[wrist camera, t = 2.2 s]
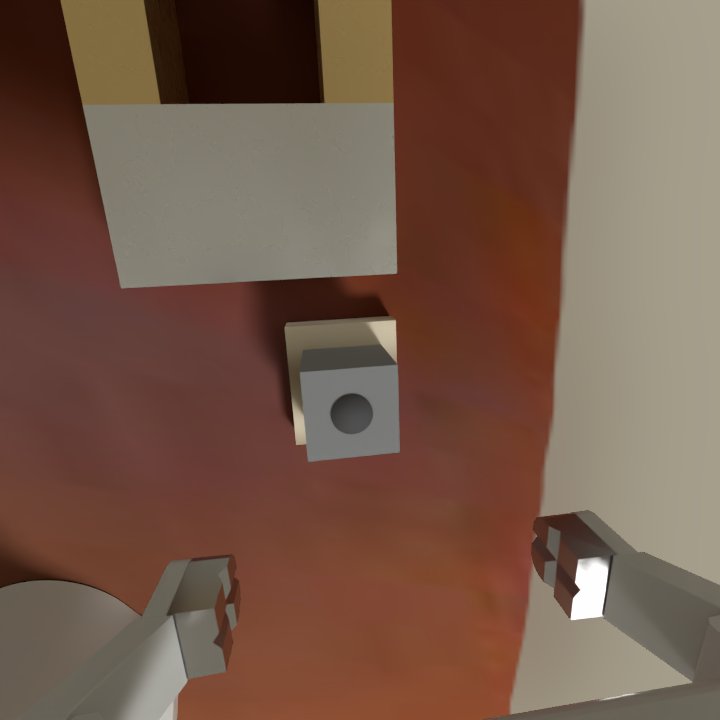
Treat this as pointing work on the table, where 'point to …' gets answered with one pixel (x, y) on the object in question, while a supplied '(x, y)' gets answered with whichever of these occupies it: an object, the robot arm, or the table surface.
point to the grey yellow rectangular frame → (238, 153)
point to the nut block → (350, 402)
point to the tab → (331, 337)
